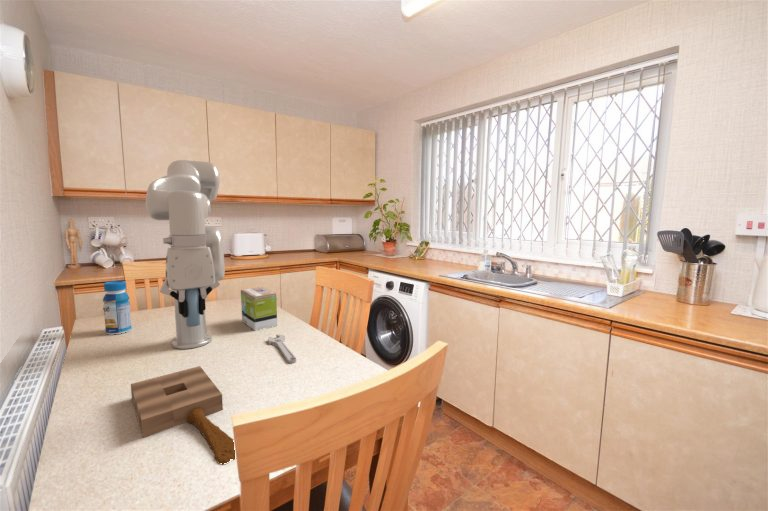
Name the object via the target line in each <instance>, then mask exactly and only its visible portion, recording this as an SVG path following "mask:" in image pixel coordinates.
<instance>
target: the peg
mask: <svg viewBox="0 0 768 511" xmlns="http://www.w3.org/2000/svg"><path fill="white" fill-rule="evenodd" d="M185 301H186V302H187V311H188V317H186V325H187V326H188V327H193V326H198V325H200V313H199V293H198V288H195V289H187V290H185Z"/></svg>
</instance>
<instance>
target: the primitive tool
mask: <svg viewBox="0 0 768 511" xmlns="http://www.w3.org/2000/svg"><path fill="white" fill-rule="evenodd" d="M187 421H188V422H187V423H189V424H191V425H195V427H196V428H197V429H198V430H199V431H200V433H201V434H202V436H203V437H204V439H205V440H206V441H207V445H208V446H209V449H211V450H212V453H213V454H214V460H215V459H216V460H215V461H218V462H219V463H218V462H217V463H218V464H220V463H222V464H224V463H227V462H229V461H230V459H233V461H235V460H236V459H235V450H234V442H233V440H234V439H233V438H232V437H231V436H229V434H227V433H226V432H225V431H223V430H222V429H221V428H220V427H219V426H217V425H216V424H214V423H213V422H212V421H211V420H210V419H209V418H207V417H206V416H205V415H204V411H203V410H202V409H200V408H198V409H194V410H193V411H191V413H190V414H189V416H188V418H187ZM229 463H230V462H229ZM227 464H228V463H227Z"/></svg>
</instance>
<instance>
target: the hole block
mask: <svg viewBox="0 0 768 511" xmlns="http://www.w3.org/2000/svg"><path fill="white" fill-rule="evenodd" d="M130 390H131V391H130V393H131V401H132V403H133V407H134V411H135V414H136V418H137V421H138V425H139V427H140V431H141V435H142V438H146V437H148V436H151V435H152V436H153V435H155V434H157V433H160V432H162V431H165V430H169V429H171V428H174V427H177V426H180V425H183V424H185V423H189V422H188V421H187V418H188V416H189V414H190V413H191V411H193V410H194V409H198V408H200V409H202V410H203V411H204V415H205V417H206V416H209V415H211V414H214V413H217V412H220V411H223V410H224V408H223V407H224V406H223V393H222V392H221V391H220V389H219V388H218V387H217V386H216V384H215V383H214V382H213V381H212V379H211V378H210V376H208V374H207V373H206V372H205V370H204V369H203V368H202V366H200V365H198V366H194V367H191V368H187V369H184V370H180V371H176V372H172V373H171V372H170V373H168V374H164V375H161V376H155V377H153V378H149V379H145V380H142V381H138V382H134V383H133V382H132V383H130Z"/></svg>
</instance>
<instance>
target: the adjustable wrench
mask: <svg viewBox="0 0 768 511" xmlns="http://www.w3.org/2000/svg"><path fill="white" fill-rule="evenodd" d="M275 336H276V338H274V337H271V336H268V338H267V345H272V344H273V345H272V346H276V347H277V348H278V350H279V351H280V353H281V354H282V356H283V357H284V358H285V360H286V362H287V363H288V364H291V365H292V364H296V363H297V357H296V356H295V355H294V354H293V352H292V351H291V350H290V348H288V346H287V345H286V344H285V343H283V342H285V340H286V336H285V335H284V334H276V335H275Z"/></svg>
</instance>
